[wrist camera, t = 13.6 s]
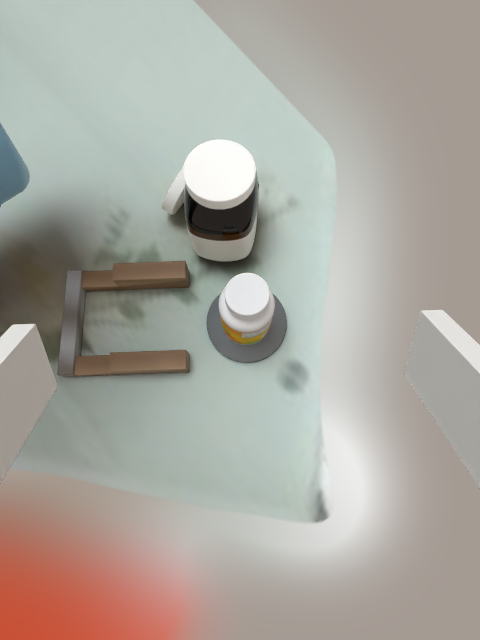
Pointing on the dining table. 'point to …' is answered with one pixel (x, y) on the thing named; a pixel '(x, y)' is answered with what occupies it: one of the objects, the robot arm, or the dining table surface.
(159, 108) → the dining table surface
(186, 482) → the dining table surface
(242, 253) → the spread jar
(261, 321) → the supplement bottle
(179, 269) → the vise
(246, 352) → the pad
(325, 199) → the dining table surface
